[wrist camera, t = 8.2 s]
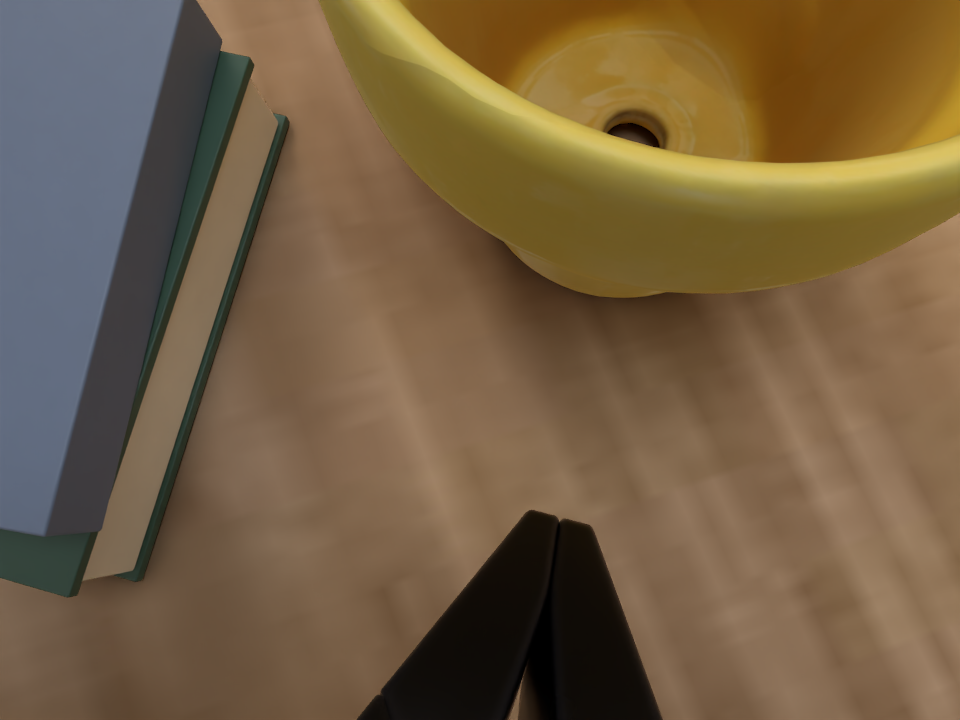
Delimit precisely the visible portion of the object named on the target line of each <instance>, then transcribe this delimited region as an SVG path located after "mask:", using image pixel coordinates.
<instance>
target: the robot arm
mask: <svg viewBox="0 0 960 720" xmlns="http://www.w3.org/2000/svg"><path fill="white" fill-rule="evenodd" d="M522 677H523V680H522ZM521 680H522V686H521V695H520V703H519V715H518V720H663V719H662V716H661V713H660V711H659V708H658V705H657V702H656V700H655V697H654V694H653V691H652V689H651V686H650V683H649V680H648V678H647V675H646V672H645V669H644V667H643V664H642V661H641V659H640V656H639V653H638V650H637V648H636V645H635V642H634V639H633V637H632V634H631V631H630V628H629V626H628V623H627V620H626V617H625V615H624V612H623V609H622V606H621V604H620V601H619V598H618V595H617V593H616V590H615V587H614V584H613V582H612V579H611V576H610V573H609V571H608V568H607V565H606V562H605V560H604V557H603V554H602V551H601V549H600V546H599V543H598V540H597V538H596V535H595V532H594V530H593V528H592V527H591V526H590V525H588V524H584V523H581V522H577V521H573V520H569V519H562V520H561V521H560V522H559V520H558V518H557V517H556V516H554V515H550V514H546V513H543V512H539V511H535V510H529V511H528V512H526V513H525V514H524V516H523V517H522V518H521V519H520V520H519V522H518V523H517V524H516V525H515V527H514V528H513V529H512V530H511V531H510V533H509V534H508V535H507V536H506V538H505V539H504V540H503V541H502V543H501V544H500V545H499V546H498V547H497V549H496V550H495V551H494V552H493V554H492V555H491V556H490V557H489V558H488V560H487V561H486V562H485V563H484V565H483V566H482V567H481V568H480V569H479V571H478V572H477V573H476V574H475V576H474V577H473V578H472V579H471V580H470V582H469V583H468V584H467V585H466V587H465V588H464V589H463V590H462V592H461V593H460V594H459V595H458V596H457V598H456V599H455V600H454V601H453V603H452V604H451V605H450V606H449V607H448V609H447V610H446V611H445V612H444V614H443V615H442V616H441V617H440V618H439V620H438V621H437V622H436V623H435V625H434V626H433V627H432V628H431V630H430V631H429V632H428V633H427V634H426V636H425V637H424V638H423V639H422V641H421V642H420V643H419V644H418V645H417V647H416V648H415V649H414V650H413V652H412V653H411V654H410V655H409V656H408V658H407V659H406V660H405V661H404V663H403V664H402V665H401V666H400V667H399V669H398V670H397V671H396V672H395V674H394V675H393V676H392V677H391V679H390V680H389V681H388V682H387V683H386V685H385V686H384V687H383V688H382V690H381V694H380V695H376V696H375V698H374V699H373V700H372V701H371V702H370V704H369V705H368V706H367V707H366V709H365V710H364V711H363V712H362V713H361V715H360V716H359V717H358V718H357V720H509V717H510V714H511V711H512V708H513V705H514V702H515V699H516V696H517V693H518V690H519V687H520V683H521Z"/></svg>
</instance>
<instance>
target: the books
mask: <svg viewBox="0 0 960 720" xmlns="http://www.w3.org/2000/svg"><path fill="white" fill-rule="evenodd" d="M221 45H222V39H221V37H220V36H219V34H218V33H217V31H216V30H215V28H214V27H213V25H212V24H211V22H210V21H209V19H208V17H207V16H206V14H205V13H204V11H203V10H202V8H201V7H200V5H199V4H198V2H197V1H196V0H0V578H2V579H6V580H9V581H13V582H16V583H20V584H23V585H26V586H30V587H33V588H37V589H40V590H44V591H47V592H50V593H54V594H57V595H61V596H64V597H67V598H68V597H73V596H77V594H78V592H79V589H80V586H81V583H82V581H85V580H90V579H95V578H100V577H104V576H109V575H114V576H117V577H121V578H124V579H128V580H131V581H135V582H136V581H141V580H142V579H143V577H144V573H145V570H146V567H147V564H148V561H149V558H150V555H151V552H152V549H153V545H154V542H155V539H156V536H157V533H158V530H159V527H160V524H161V521H162V517H163V514H164V511H165V508H166V505H167V502H168V499H169V496H170V493H171V489H172V486H173V483H174V480H175V477H176V474H177V471H178V468H179V465H180V461H181V458H182V455H183V452H184V449H185V446H186V443H187V440H188V437H189V433H190V430H191V427H192V424H193V421H194V418H195V415H196V412H197V409H198V405H199V402H200V399H201V396H202V393H203V390H204V387H205V384H206V381H207V377H208V374H209V371H210V368H211V365H212V362H213V359H214V356H215V353H216V349H217V346H218V343H219V340H220V337H221V334H222V331H223V328H224V325H225V321H226V318H227V315H228V312H229V309H230V306H231V303H232V300H233V297H234V293H235V290H236V287H237V284H238V281H239V278H240V275H241V272H242V269H243V265H244V262H245V259H246V256H247V253H248V250H249V247H250V244H251V241H252V237H253V234H254V231H255V228H256V225H257V222H258V219H259V216H260V213H261V209H262V206H263V203H264V200H265V197H266V194H267V191H268V188H269V185H270V181H271V178H272V175H273V172H274V169H275V166H276V163H277V160H278V157H279V153H280V150H281V147H282V144H283V141H284V138H285V135H286V132H287V129H288V125H289V120H288V118H287V117H286V116H283V115H279V114H274V113H272V111H271V110H270V108H269V107H268V105H267V104H266V102H265V101H264V99H263V98H262V96H261V94H260V93H259V91H258V90H257V88H256V87H255V85H254V84H253V82H252V81H251V79H250V77H251V74H252V71H253V68H254V63H253V62H252V60H251V58H249V57H246V56H241V55H237V54H232V53H227V52H223V51H220V49H221Z"/></svg>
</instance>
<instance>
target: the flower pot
mask: <svg viewBox="0 0 960 720" xmlns="http://www.w3.org/2000/svg"><path fill="white" fill-rule="evenodd" d="M319 3H320V5H321V8H322V10H323V13H324V15H325V17H326V20H327V22H328V25H329V27H330V30H331V32H332V34H333V37H334V39H335V42H336V44H337V46H338V49H339V51H340V53H341V55H342V57H343V60H344V62H345V64H346V66H347V68H348V70H349V72H350V74H351V77H352V79H353V81H354V83H355V85H356V87H357V89H358V91H359V93H360V95H361V96H362V98H363V100H364V102H365V104H366V106H367V107H368V109H369V111H370V113H371V114H372V116H373V118H374V119H375V121H376V123H377V124H378V126H379V128H380V129H381V131H382V132H383V134H384V135H385V137H386V138H387V139H388V141H389V142H390V144H391V145H392V146H393V148H394V149H395V150H396V151H397V153H398V154H399V155H400V156H401V157H402V159H403V160H404V161H405V162H406V163H407V164H408V165H409V166H410V168H411V169H412V170H413V171H414V172H415V173H416V174H417V175H418V176H419V177H420V178H421V179H422V180H423V181H424V182H425V183H426V184H427V185H428V186H429V187H430V188H431V189H432V190H433V191H434V192H435V193H436V194H438V195H439V196H440V197H441V198H442V199H443V200H444V201H446V202H447V203H448V204H449V205H450V206H451V207H453V208H454V209H455V210H456V211H457V212H459V213H460V214H461V215H463V216H464V217H466V218H467V219H468V220H470V221H471V222H473V223H474V224H475V225H477V226H479V227H480V228H482V229H483V230H485V231H487V232H488V233H490V234H491V235H493V236H495V237H496V238H498V239H500V240H502V241H504V243H505V244H506V245H507V246H508V247H509V248H510V250H511V251H512V252H513V253H514V254H515V255H516V256H517V257H518V258H519V259H520V260H521V261H523V262H524V263H525V264H526V265H527V266H529V267H530V268H532V269H533V270H535V271H536V272H537V273H539V274H540V275H542V276H544V277H546V278H547V279H549V280H551V281H553V282H555V283H557V284H559V285H561V286H564V287H567V288H569V289H572V290H574V291H577V292H581V293H585V294H589V295H595V296H600V297H613V298H630V297H643V296H651V295H655V294H660V293H664V292H675V293H708V294H711V293H737V292H750V291H759V290H765V289H772V288H778V287H783V286H788V285H793V284H798V283H803V282H807V281H811V280H815V279H818V278H822V277H826V276H829V275H832V274H835V273H838V272H840V271H843V270H846V269H849V268H851V267H854V266H857V265H860V264H862V263H864V262H866V261H869V260H871V259H873V258H875V257H877V256H880V255H882V254H884V253H886V252H888V251H890V250H892V249H894V248H896V247H898V246H900V245H902V244H904V243H906V242H908V241H909V240H911V239H913V238H915V237H917V236H919V235H921V234H923V233H925V232H926V231H928V230H930V229H932V228H934V227H936V226H938V225H940V224H941V223H943V222H945V221H946V220H948V219H950V218H951V217H953V216H955V215H956V214H958V213H960V0H319ZM622 123H634V124H638V125H641V126H643V127H645V128H647V129H648V130H649V131H651V132H652V133H653V134H654V135H655V137H656V138H657V140H658V142H659V145H660V148H655V147H651V146H648V145H644V144H641V143H637V142H633V141H630V140H626V139H623V138H619V137H615V136H612V135H609V134H607V132H608V131H609V130H610V129H611V128H612V127H614V126H616V125H618V124H622Z"/></svg>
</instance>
